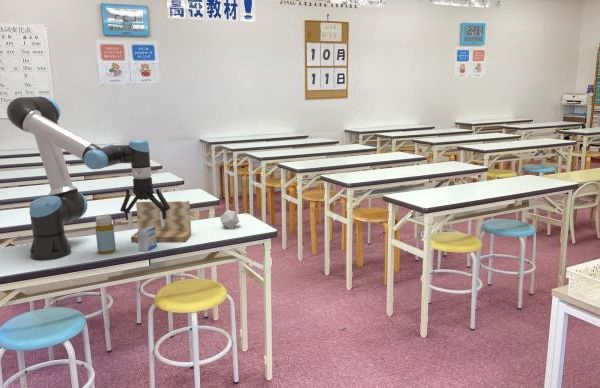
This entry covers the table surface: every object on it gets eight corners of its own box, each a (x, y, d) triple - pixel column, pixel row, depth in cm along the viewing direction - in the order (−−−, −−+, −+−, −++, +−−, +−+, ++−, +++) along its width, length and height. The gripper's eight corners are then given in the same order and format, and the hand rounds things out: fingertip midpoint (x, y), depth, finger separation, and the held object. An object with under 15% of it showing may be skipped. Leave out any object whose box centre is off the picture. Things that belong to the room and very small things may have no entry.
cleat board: (131, 242, 225) (128, 207, 221) (139, 235, 236) (137, 201, 233) (185, 242, 224) (183, 206, 221) (191, 234, 235) (189, 201, 232)
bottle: (117, 248, 217) (113, 214, 214) (114, 253, 210) (110, 218, 207) (99, 249, 216) (96, 215, 213) (96, 254, 209) (92, 219, 206)
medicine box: (148, 251, 212) (146, 231, 210) (138, 251, 213) (136, 231, 211) (157, 245, 220) (155, 226, 218) (147, 245, 221) (146, 226, 219)
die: (225, 225, 253) (214, 212, 246) (240, 216, 252) (230, 203, 246) (228, 235, 246) (218, 222, 240) (244, 226, 246) (234, 212, 240)
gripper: (108, 179, 207) (114, 230, 211) (169, 177, 206) (174, 228, 210) (115, 176, 214) (121, 225, 218) (174, 174, 213) (178, 223, 218)
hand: (147, 227), depth 214 cm, fingers open, 13 cm apart
